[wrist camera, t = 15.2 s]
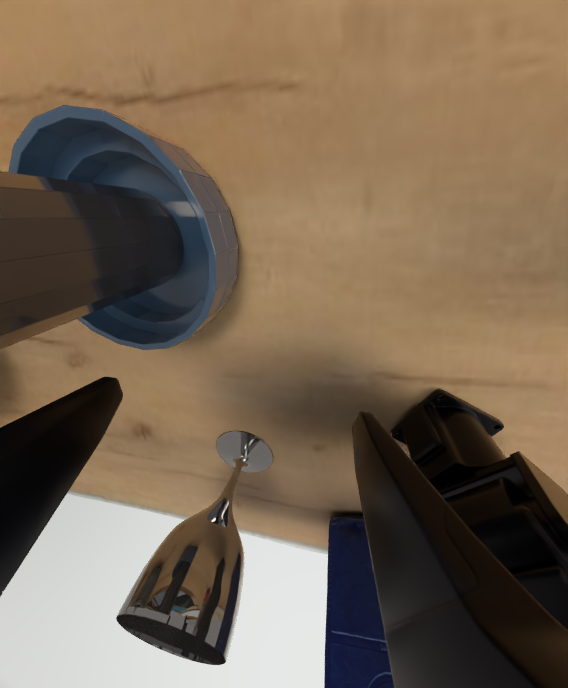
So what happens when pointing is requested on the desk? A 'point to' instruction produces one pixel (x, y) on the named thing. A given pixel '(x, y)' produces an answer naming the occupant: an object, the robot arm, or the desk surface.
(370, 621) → the blue box
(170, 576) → the wine glass
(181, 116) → the desk surface
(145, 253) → the cup
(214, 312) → the bowl
